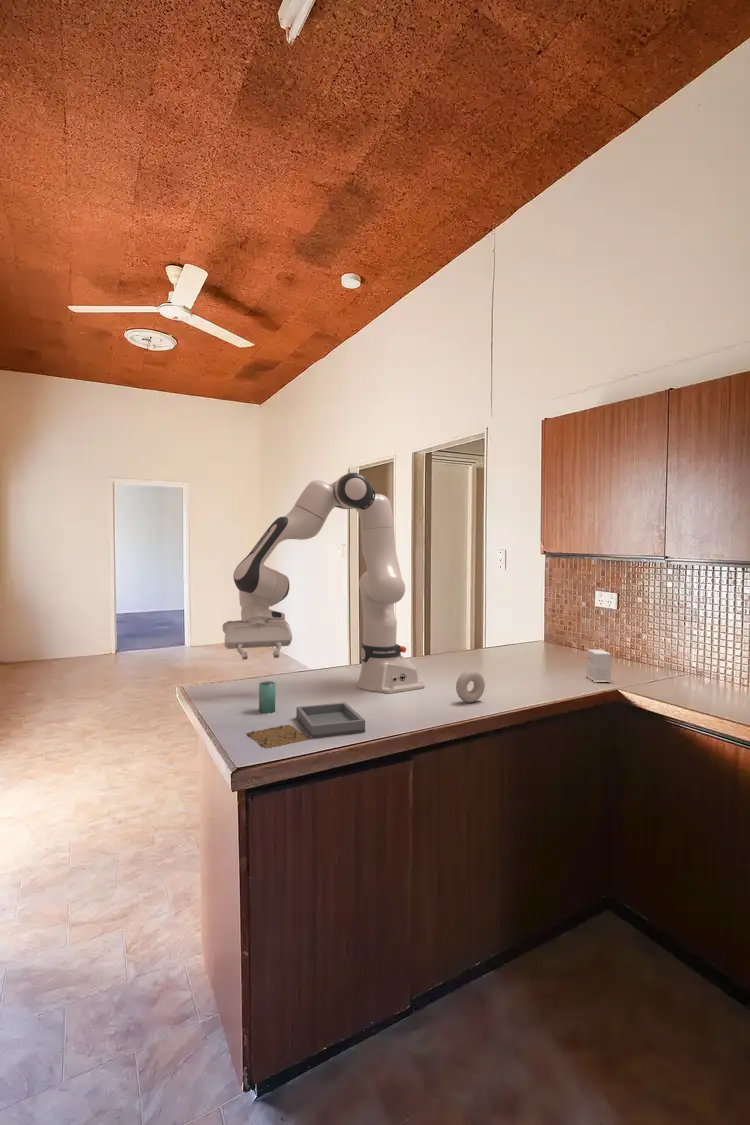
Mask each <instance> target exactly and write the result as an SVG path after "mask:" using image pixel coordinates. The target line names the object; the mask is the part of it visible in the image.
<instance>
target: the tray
mask: <svg viewBox="0 0 750 1125" xmlns="http://www.w3.org/2000/svg"><path fill="white" fill-rule="evenodd" d="M295 709H296V710H295V711H296V712H295V713H296V714H295V715H296V719H297V721H298V722H299V724H300V725H301V726H302V728H303V729H304V730H305V732H306V733H307V734H308V737H310V738H311V739H319V738H326V737H333V736H334V737H335V736H342V735H343V736H344V735H352V734H353V735H354V734H361V733H365V732H366V720H365V719H364V718H363V717H362V716H361V715H360V714H359V713H358V712H357V711H355V709H353V708H352V707H351V706H350V704H348V703H347V702H344V701H343V702H334V703H325V704H315V705H305V706H303V705H302V706H296V708H295Z"/></svg>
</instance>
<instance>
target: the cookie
mask: <svg viewBox="0 0 750 1125" xmlns="http://www.w3.org/2000/svg"><path fill="white" fill-rule="evenodd" d="M245 734H246V736H248V737H249V736H250V737H251V738H252V739H251V740H253V739H254V740H255V741H257V742H258V743H259V744H260V745H261V746H260V745H259V744H258V743H257V742H256V743H257V744H258V745H259V746H260V747H262V748H263V747H264V748H265V749H264V748H263V749H264V750H267V749H266V748H269V749H273V748H277V746H278V747H281V746H286V745H290V744H291V745H292V744H295V743H300V742H305V741H309V740H310V738H309V735H305V733H302V732H300V731H299V730H297V728H295V727H294V726H292V725H290V724H285V725H279V726H276V727H275V726H274V727H269V728H265V729H259V730H256V731H255V730H253V731H251V732H246V733H245ZM250 737H249V738H250ZM254 740H253V741H254ZM255 741H254V742H255ZM272 747H273V748H272Z"/></svg>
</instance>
